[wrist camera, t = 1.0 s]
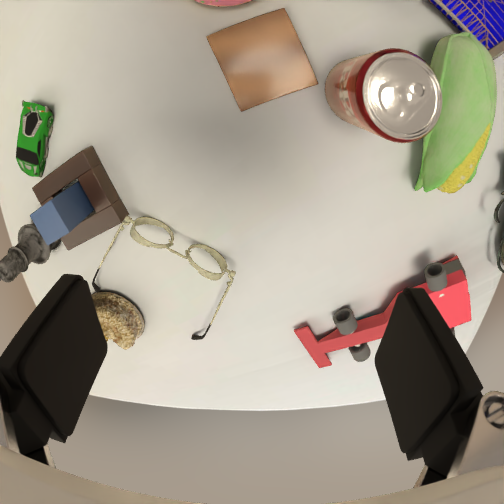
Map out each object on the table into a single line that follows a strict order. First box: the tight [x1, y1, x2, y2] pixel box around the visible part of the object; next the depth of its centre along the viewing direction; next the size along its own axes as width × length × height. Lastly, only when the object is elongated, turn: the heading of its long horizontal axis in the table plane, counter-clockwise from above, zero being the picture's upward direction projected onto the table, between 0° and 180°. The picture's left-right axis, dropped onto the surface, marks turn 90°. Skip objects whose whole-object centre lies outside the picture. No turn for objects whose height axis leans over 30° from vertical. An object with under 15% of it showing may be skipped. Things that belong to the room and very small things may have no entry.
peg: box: [30, 181, 95, 245], centre depth 31 cm, size 4×4×8 cm
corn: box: [414, 32, 497, 193], centre depth 25 cm, size 8×8×20 cm
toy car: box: [16, 100, 54, 177], centre depth 30 cm, size 10×5×2 cm, turn 157°
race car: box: [294, 255, 471, 368], centre depth 41 cm, size 14×6×25 cm
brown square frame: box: [32, 146, 129, 250], centre depth 34 cm, size 10×10×2 cm
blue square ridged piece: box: [429, 0, 504, 60], centre depth 18 cm, size 12×12×5 cm
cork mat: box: [207, 8, 318, 112], centre depth 27 cm, size 9×8×1 cm
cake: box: [91, 292, 144, 350], centre depth 41 cm, size 10×10×5 cm
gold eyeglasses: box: [92, 216, 236, 340], centre depth 38 cm, size 17×15×5 cm
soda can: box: [325, 48, 443, 143], centre depth 23 cm, size 7×7×12 cm
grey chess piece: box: [0, 222, 61, 282], centre depth 32 cm, size 6×6×12 cm
